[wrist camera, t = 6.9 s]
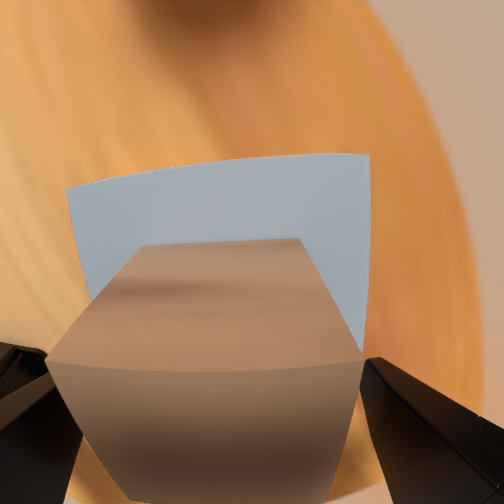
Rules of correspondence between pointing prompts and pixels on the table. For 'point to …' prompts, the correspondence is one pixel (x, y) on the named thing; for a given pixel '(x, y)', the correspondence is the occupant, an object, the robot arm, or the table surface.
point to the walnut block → (213, 375)
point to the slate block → (236, 216)
